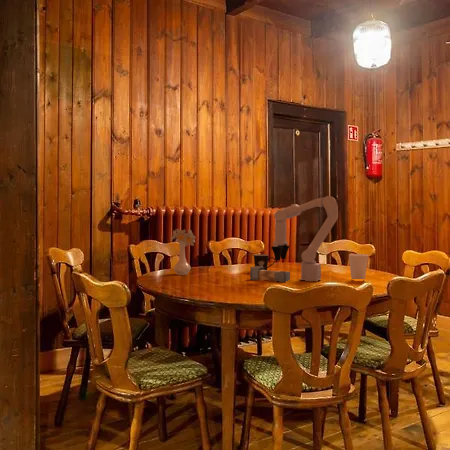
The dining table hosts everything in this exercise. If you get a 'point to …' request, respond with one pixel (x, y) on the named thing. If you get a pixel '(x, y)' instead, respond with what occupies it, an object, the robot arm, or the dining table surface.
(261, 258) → the coffee mug
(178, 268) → the flower vase
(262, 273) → the light brown long block
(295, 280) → the dining table surface
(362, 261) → the foam cup
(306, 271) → the robot arm
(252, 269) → the grey rectangular block
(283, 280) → the open end cap
